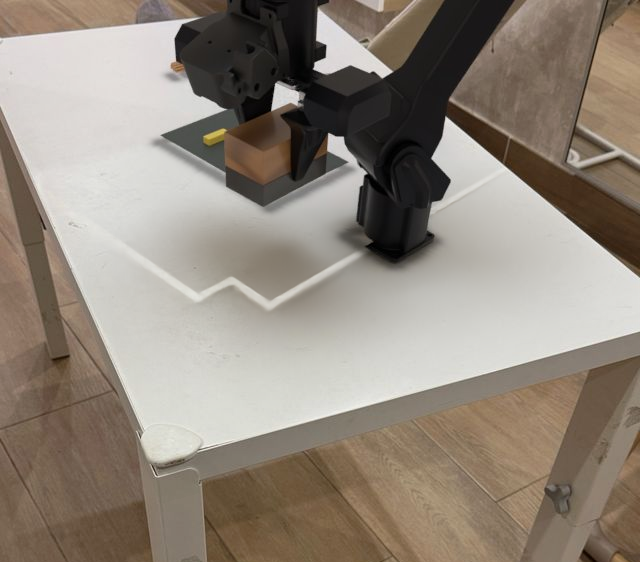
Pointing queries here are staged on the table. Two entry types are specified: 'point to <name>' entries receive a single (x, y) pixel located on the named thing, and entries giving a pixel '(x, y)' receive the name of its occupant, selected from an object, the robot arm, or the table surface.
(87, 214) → the table surface
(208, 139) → the chalk strip yellow
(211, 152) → the slate board
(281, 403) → the table surface
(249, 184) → the eraser
